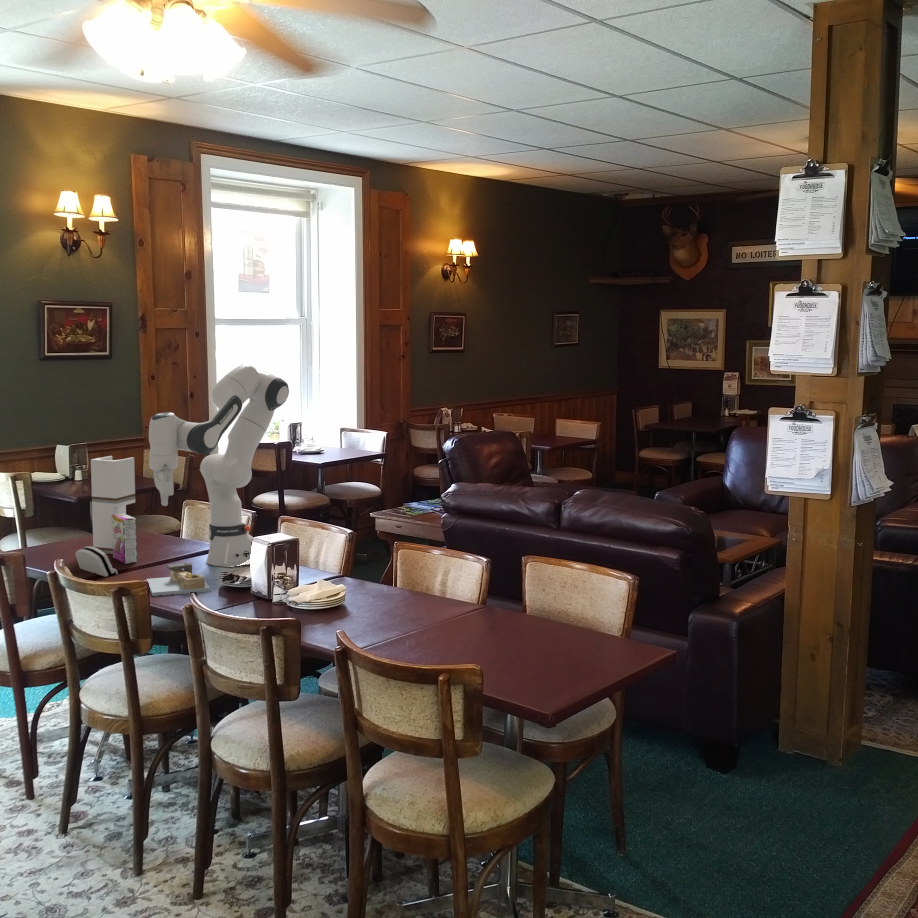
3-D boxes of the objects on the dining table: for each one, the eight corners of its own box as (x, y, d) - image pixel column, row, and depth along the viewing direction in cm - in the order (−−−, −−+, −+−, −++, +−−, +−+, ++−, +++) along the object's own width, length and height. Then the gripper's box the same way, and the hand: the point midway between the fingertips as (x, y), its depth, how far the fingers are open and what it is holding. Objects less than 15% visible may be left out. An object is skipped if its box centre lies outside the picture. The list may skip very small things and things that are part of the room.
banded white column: (117, 554, 368) (115, 461, 364) (93, 552, 371) (90, 459, 367) (136, 548, 379) (134, 457, 374) (112, 545, 382) (110, 455, 377)
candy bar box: (111, 558, 362) (110, 514, 360) (125, 556, 365) (124, 512, 363) (124, 564, 354) (123, 519, 352) (137, 562, 357) (136, 517, 355)
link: (204, 586, 322) (204, 577, 321) (188, 589, 318) (187, 580, 317) (183, 577, 333) (182, 567, 333) (166, 579, 330) (166, 570, 329)
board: (201, 578, 337) (201, 574, 337) (210, 591, 321) (210, 587, 321) (146, 582, 330) (146, 578, 330) (152, 596, 314) (152, 592, 314)
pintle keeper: (191, 579, 335) (191, 562, 334) (197, 589, 322) (197, 571, 322) (166, 581, 331) (166, 564, 330) (171, 592, 319) (171, 573, 318)
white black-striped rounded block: (118, 574, 340) (109, 548, 336) (107, 581, 337) (97, 555, 333) (92, 565, 351) (83, 541, 347) (81, 572, 348) (71, 547, 344)
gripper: (178, 467, 312) (178, 510, 314) (169, 458, 331) (170, 499, 333) (157, 467, 310) (158, 511, 312) (150, 459, 328) (151, 500, 330)
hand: (164, 505), depth 322 cm, fingers closed
